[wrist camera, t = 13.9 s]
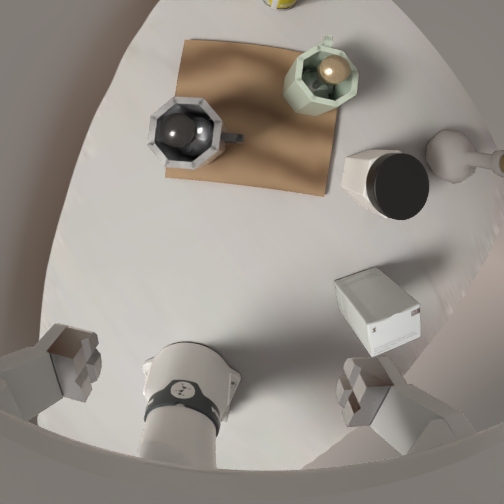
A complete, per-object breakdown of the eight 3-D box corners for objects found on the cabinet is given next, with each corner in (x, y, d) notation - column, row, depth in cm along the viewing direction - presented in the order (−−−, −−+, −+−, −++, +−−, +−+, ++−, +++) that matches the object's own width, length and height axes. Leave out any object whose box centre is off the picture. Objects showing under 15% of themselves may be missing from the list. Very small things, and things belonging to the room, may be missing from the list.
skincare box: (338, 308, 50) (368, 361, 36) (332, 278, 48) (364, 326, 34) (381, 293, 50) (421, 339, 36) (378, 263, 48) (422, 304, 34)
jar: (347, 211, 45) (380, 231, 34) (331, 161, 42) (362, 165, 31) (395, 193, 44) (437, 208, 33) (382, 144, 42) (423, 145, 30)
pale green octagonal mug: (329, 119, 39) (354, 111, 30) (280, 110, 39) (292, 97, 29) (336, 60, 36) (361, 39, 27) (288, 50, 36) (301, 24, 26)
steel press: (239, 167, 41) (239, 174, 29) (172, 161, 40) (145, 165, 28) (246, 117, 39) (248, 102, 27) (178, 111, 38) (153, 96, 26)
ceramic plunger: (329, 106, 36) (356, 94, 26) (293, 99, 35) (311, 83, 26) (333, 74, 34) (360, 54, 25) (298, 67, 34) (316, 42, 24)
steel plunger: (212, 157, 35) (200, 158, 25) (173, 153, 35) (147, 155, 25) (217, 118, 34) (207, 104, 23) (178, 116, 34) (153, 102, 23)
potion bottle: (419, 177, 43) (493, 196, 26) (422, 125, 41) (497, 123, 24) (456, 183, 44) (528, 203, 27) (459, 135, 41) (532, 139, 24)
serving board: (322, 195, 44) (324, 196, 43) (167, 176, 42) (165, 177, 41) (339, 63, 38) (342, 61, 36) (186, 42, 36) (184, 39, 35)
